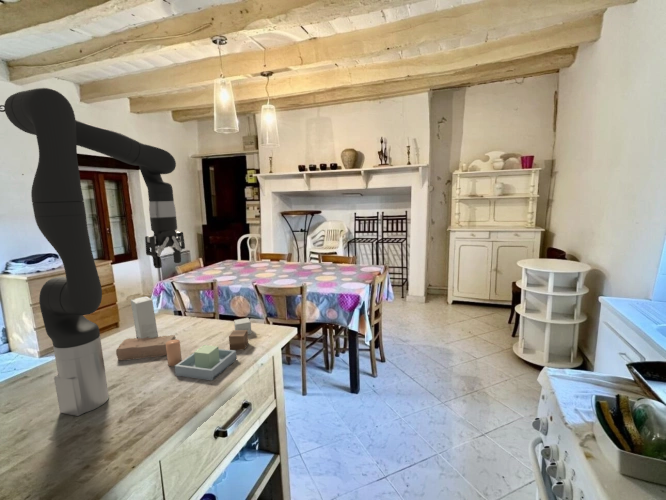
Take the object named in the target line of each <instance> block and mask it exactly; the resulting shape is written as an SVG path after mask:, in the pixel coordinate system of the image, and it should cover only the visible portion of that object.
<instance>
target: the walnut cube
mask: <svg viewBox="0 0 666 500" xmlns="http://www.w3.org/2000/svg"><path fill="white" fill-rule="evenodd" d="M228 344H229V350H234V351H237V350H238V351H240V349H244V350H246V348H247V346H248V345H249V334H248V331H247V330H235V329H233V330H232V331H231V333H230V334H229V335H228ZM247 344H248V345H247ZM245 347H246V348H245Z"/></svg>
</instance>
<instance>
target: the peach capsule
mask: <svg viewBox="0 0 666 500" xmlns="http://www.w3.org/2000/svg"><path fill="white" fill-rule="evenodd" d="M175 339H176V338H175ZM166 351H167V355H166V359H167V365H168V366H169V367H175V365H177V364H178V363H180V362H181V361H183V359H182V351H181V340H180V339H178V338H177V339H176V340H170V341H168V342H166Z"/></svg>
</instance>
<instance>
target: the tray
mask: <svg viewBox="0 0 666 500" xmlns="http://www.w3.org/2000/svg"><path fill="white" fill-rule="evenodd" d="M219 359H220V361H219V362H218V363H217V364H216V365H215V366H213V367H212V368H211V369H207V368H199V367H195V357H194V352H193V353H192V354H190V355H188V356H187V357H185V358H184V359H182V361H181V362H180V363H178V364H177V365H175V366H174V371H175V376H178V377H184V378H193V379H199V380H207V381H212V380H213V381H215V379H216V378H217V377H219V376H220V375H221V374H222V373H223V372H224V371H226V370H227V369H228V368H229V367H230V366H231V365H232V364H233V363H234V362H236V361H237V360H236V359H237V350H230V349H225V348H224V349H223V348H219ZM235 360H236V361H235ZM227 367H228V368H227ZM219 374H220V375H219Z"/></svg>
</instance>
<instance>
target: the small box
mask: <svg viewBox="0 0 666 500" xmlns="http://www.w3.org/2000/svg"><path fill="white" fill-rule="evenodd" d="M233 323H234V325H233V326H234V330H247V331H248V335H251V334H252V322H251V321H250V318H249V317H245V318H239V319H234V320H233Z"/></svg>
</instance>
